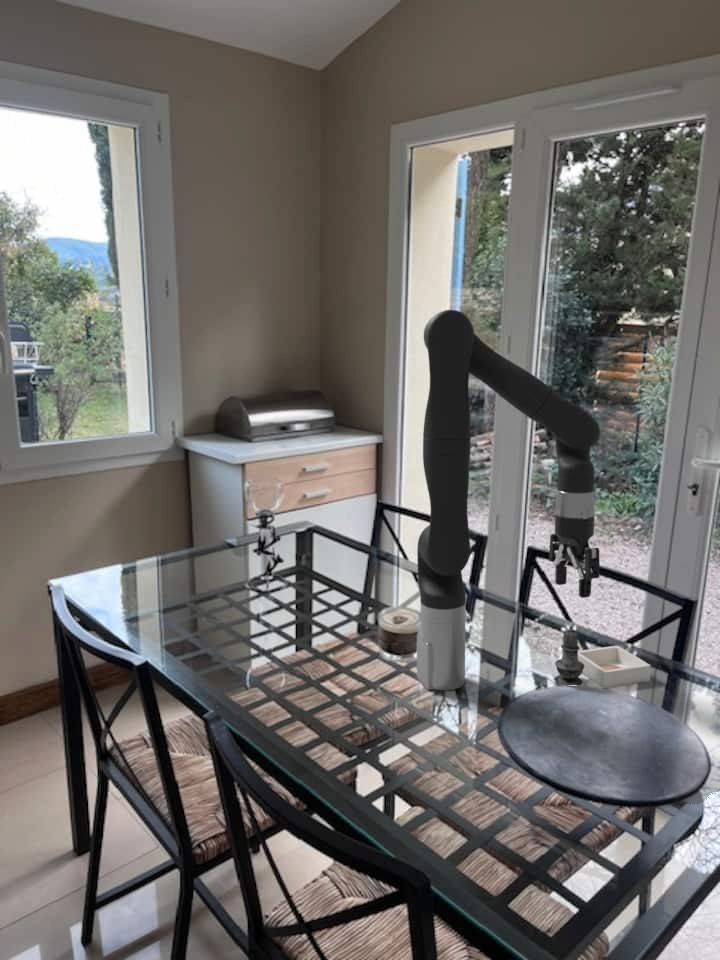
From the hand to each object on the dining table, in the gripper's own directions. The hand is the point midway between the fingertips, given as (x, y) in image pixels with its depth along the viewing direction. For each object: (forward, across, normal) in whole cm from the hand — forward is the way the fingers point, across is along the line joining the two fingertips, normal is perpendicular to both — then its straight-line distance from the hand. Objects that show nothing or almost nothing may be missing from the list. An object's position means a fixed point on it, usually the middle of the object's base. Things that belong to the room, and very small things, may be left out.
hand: (572, 590), depth 146 cm
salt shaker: (+20, 0, 0) cm, 20 cm away
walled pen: (+20, 0, +10) cm, 22 cm away
